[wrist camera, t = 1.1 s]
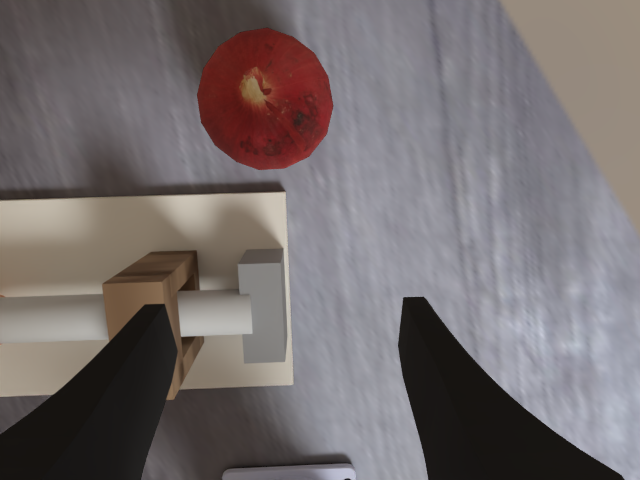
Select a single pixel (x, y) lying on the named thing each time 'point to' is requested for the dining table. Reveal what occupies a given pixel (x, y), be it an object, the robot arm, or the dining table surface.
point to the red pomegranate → (265, 99)
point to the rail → (122, 251)
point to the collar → (156, 300)
